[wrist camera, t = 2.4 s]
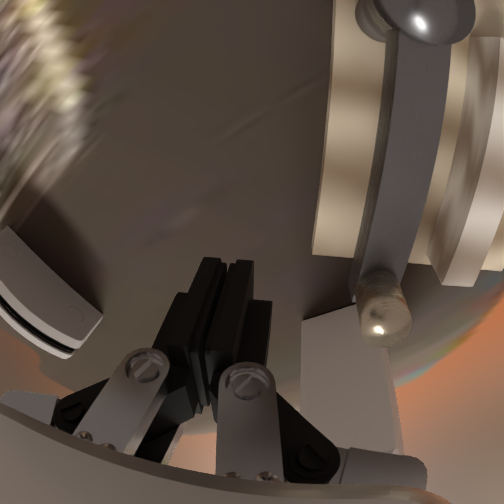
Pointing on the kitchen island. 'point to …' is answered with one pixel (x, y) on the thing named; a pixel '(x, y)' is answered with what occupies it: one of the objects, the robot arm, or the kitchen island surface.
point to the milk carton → (348, 385)
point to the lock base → (448, 156)
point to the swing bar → (403, 154)
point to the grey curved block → (41, 300)
